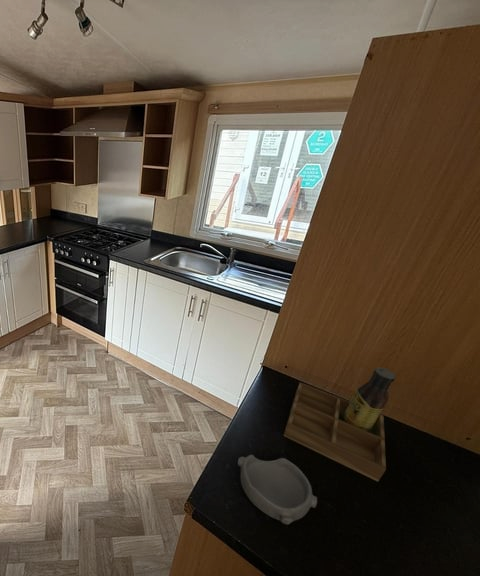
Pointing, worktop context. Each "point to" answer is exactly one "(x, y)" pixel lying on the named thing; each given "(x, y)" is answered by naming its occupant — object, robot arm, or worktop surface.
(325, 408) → the grid
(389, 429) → the worktop surface
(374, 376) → the sauce bottle
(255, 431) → the worktop surface
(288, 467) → the dish
